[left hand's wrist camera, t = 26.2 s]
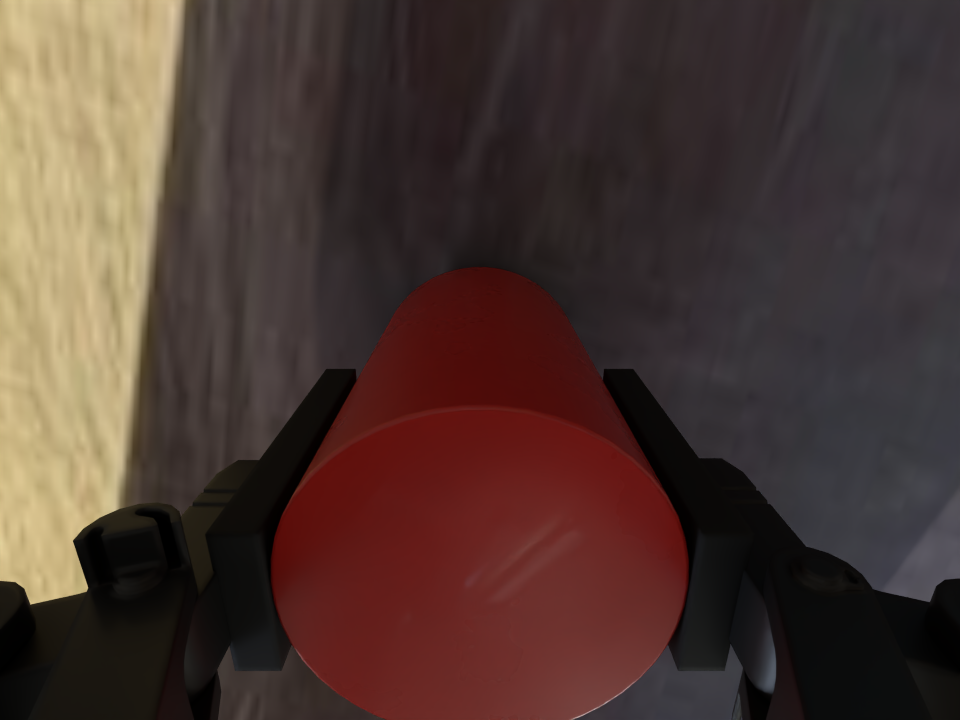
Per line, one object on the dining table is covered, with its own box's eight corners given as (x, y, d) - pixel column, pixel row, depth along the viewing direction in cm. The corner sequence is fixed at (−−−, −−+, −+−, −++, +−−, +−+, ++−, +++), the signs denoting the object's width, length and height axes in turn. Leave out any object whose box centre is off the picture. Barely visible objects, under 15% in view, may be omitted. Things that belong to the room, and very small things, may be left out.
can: (546, 238, 16) (640, 345, 7) (597, 419, 18) (723, 690, 9) (351, 303, 17) (189, 482, 7) (422, 470, 19) (366, 771, 10)
